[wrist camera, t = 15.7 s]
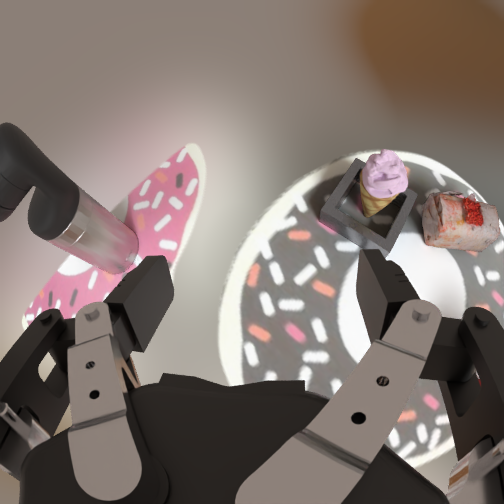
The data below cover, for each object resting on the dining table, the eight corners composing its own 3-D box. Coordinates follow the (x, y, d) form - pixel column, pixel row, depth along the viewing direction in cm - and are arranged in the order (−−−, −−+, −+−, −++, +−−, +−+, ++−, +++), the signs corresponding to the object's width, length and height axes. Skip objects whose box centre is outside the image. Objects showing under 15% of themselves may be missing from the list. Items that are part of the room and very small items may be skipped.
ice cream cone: (377, 193, 45) (399, 135, 31) (394, 223, 42) (425, 171, 28) (344, 204, 45) (357, 145, 31) (360, 236, 43) (383, 185, 29)
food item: (419, 251, 40) (445, 226, 31) (415, 207, 43) (436, 177, 34) (480, 257, 38) (510, 236, 29) (474, 216, 40) (500, 191, 31)
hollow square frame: (319, 221, 45) (320, 209, 41) (352, 171, 47) (356, 157, 43) (382, 261, 41) (389, 252, 37) (410, 205, 43) (418, 194, 39)
